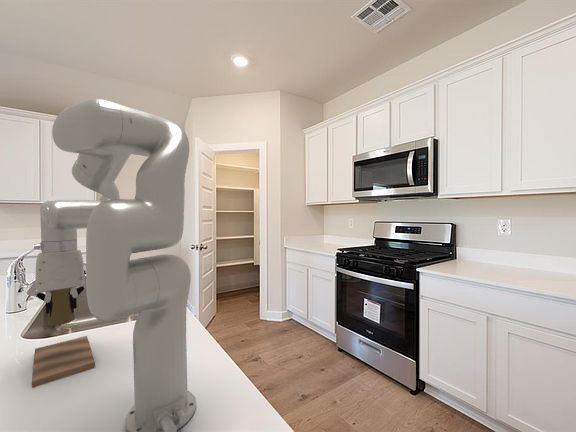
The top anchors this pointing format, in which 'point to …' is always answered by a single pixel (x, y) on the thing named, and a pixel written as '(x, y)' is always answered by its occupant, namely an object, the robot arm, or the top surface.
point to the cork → (60, 308)
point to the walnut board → (61, 360)
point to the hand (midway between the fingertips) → (61, 312)
